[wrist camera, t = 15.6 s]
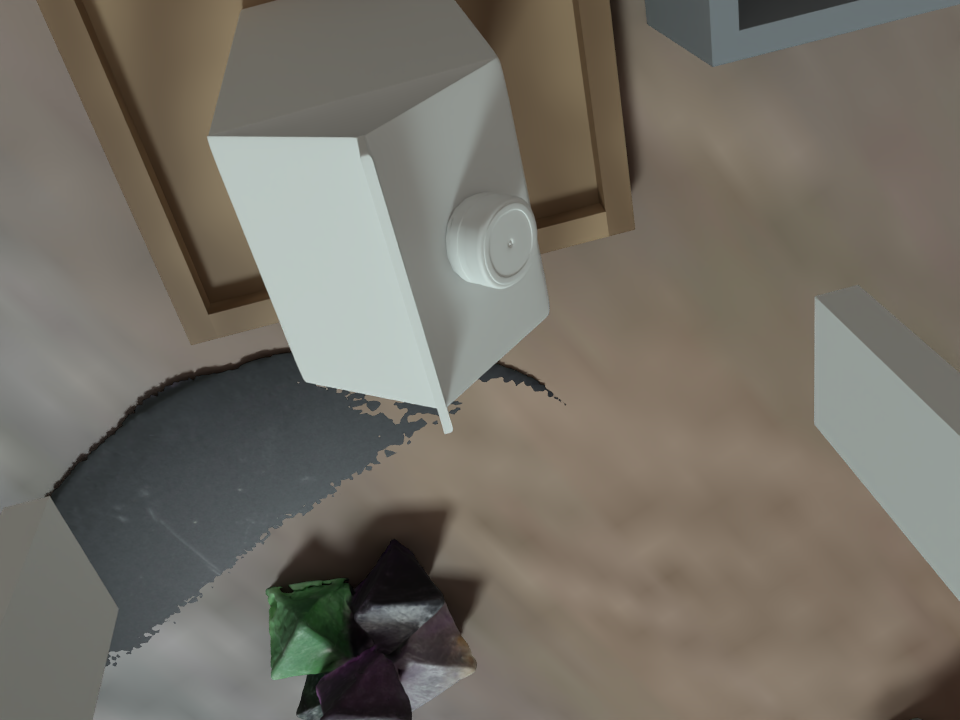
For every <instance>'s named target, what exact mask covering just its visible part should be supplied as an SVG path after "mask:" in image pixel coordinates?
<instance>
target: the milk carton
mask: <svg viewBox="0 0 960 720" xmlns="http://www.w3.org/2000/svg"><path fill="white" fill-rule="evenodd" d="M207 139H208V143H209V146H210V149H211V152H212V154H213V157H214V160H215V162H216V165H217V167H218V170H219V172H220V175H221V177H222V180H223V182H224V185H225V187H226V190H227V192H228V195H229V197H230V200H231V202H232V205H233V207H234V210H235V212H236V215H237V217H238V220H239V222H240V225H241V227H242V229H243V232H244V234H245V237H246V239H247V242H248V244H249V247H250V249H251V252H252V254H253V257H254V259H255V262H256V264H257V267H258V269H259V272H260V274H261V277H262V279H263V282H264V284H265V287H266V289H267V292H268V294H269V297H270V299H271V302H272V304H273V307H274V309H275V312H276V314H277V317H278V319H279V322H280V324H281V327H282V329H283V331H284V334H285V336H286V339H287V341H288V344H289V346H290V349H291V351H292V354H293V356H294V359H295V361H296V364H297V366H298V368H299V371H300V373H301V375H302V377H303V379H304V380H305V382H308V383H312V384H317V385H322V386H327V387H332V388H337V389H342V390H347V391H352V392H357V393H362V394H367V395H372V396H377V397H382V398H387V399H392V400H397V401H402V402H407V403H412V404H417V405H422V406H427V407H432V408H437V410H438V414H439V417H440V420H441V423H442V427H443V430H444V433H445V434H446V433H450V432H452V430H453V428H452V424H451V421H450V418H449V413H448V409H447V407H448V406H449V405H450V404H451V403H452V402H453V401H454V400H455V399H456V398H458V397H459V396H460V395H461V394H462V393H463V392H464V391H465V390H466V389H468V388H469V387H470V386H471V385H472V384H473V383H474V382H475V381H476V380H478V379H479V378H480V377H481V376H482V375H483V374H484V373H485V372H486V371H488V370H489V369H490V368H491V367H492V366H493V365H494V364H495V363H496V362H497V361H499V360H500V359H501V358H502V357H503V356H504V355H505V354H506V353H507V352H509V351H510V350H511V349H512V348H513V347H514V346H515V345H516V344H517V343H519V342H520V341H521V340H522V339H523V338H524V337H525V336H526V335H527V334H529V333H530V332H531V331H532V330H533V329H534V328H535V327H536V326H537V325H539V324H540V323H541V322H542V321H543V320H544V319H545V318H546V317H547V316H548V315H549V309H550V305H549V297H548V292H547V286H546V281H545V275H544V270H543V265H542V260H541V255H540V250H539V245H538V240H537V226H536V221H535V217H534V214H533V212H532V210H531V205H530V200H529V195H528V190H527V185H526V180H525V176H524V171H523V166H522V161H521V156H520V151H519V146H518V141H517V136H516V131H515V126H514V121H513V116H512V111H511V106H510V101H509V97H508V92H507V88H506V83H505V79H504V75H503V71H502V67H501V63H500V60H499V58H498V57H497V55H496V54H495V52H494V51H493V49H492V48H491V47H490V45H489V44H488V43H487V41H486V40H485V39H484V37H483V36H482V35H481V34H480V32H479V31H478V30H477V28H476V27H475V26H474V24H473V23H472V22H471V21H470V19H469V18H468V17H467V15H466V14H465V13H464V12H463V10H462V9H461V8H460V6H459V5H458V4H457V2H456V1H455V0H275V1H272V2H268V3H264V4H260V5H257V6H253V7H249V8H246V9H243V10H241V12H240V15H239V19H238V23H237V26H236V30H235V34H234V38H233V42H232V46H231V50H230V54H229V58H228V61H227V65H226V69H225V73H224V77H223V81H222V85H221V89H220V93H219V96H218V100H217V104H216V108H215V112H214V116H213V120H212V124H211V128H210V132H209V135H208V136H207Z"/></svg>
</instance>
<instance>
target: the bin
mask: <svg viewBox="0 0 960 720" xmlns="http://www.w3.org/2000/svg"><path fill="white" fill-rule="evenodd" d="M958 4H960V0H645V6H646V17H647V24H648V25H649V26H651V27H652V28H654V29H655V30H657V31H658V32H660V33H662V34H663V35H665V36H666V37H668V38H669V39H671V40H672V41H674V42H675V43H677V44H678V45H680V46H681V47H683V48H685V49H686V50H688V51H689V52H691V53H692V54H694V55H695V56H697V57H698V58H700V59H701V60H703V61H704V62H706V63H708V64H709V65H711V66H712V67H714V66H718V65H722V64H726V63H730V62H734V61H738V60H742V59H746V58H750V57H754V56H757V55H761V54H765V53H769V52H773V51H777V50H781V49H785V48H789V47H793V46H797V45H801V44H805V43H808V42H812V41H816V40H820V39H824V38H828V37H832V36H836V35H840V34H844V33H848V32H852V31H856V30H859V29H863V28H867V27H871V26H875V25H879V24H883V23H887V22H891V21H895V20H899V19H903V18H907V17H911V16H914V15H918V14H922V13H926V12H930V11H934V10H938V9H942V8H946V7H950V6H954V5H958Z"/></svg>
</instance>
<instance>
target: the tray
mask: <svg viewBox="0 0 960 720" xmlns="http://www.w3.org/2000/svg"><path fill="white" fill-rule="evenodd" d="M36 1H37V3H38V5H39V7H40V10H41V12H42V14H43V16H44V19H45V21H46V23H47V25H48V28H49V30H50V32H51V34H52V36H53V39H54V41H55V43H56V45H57V48H58V50H59V52H60V54H61V56H62V59H63V61H64V63H65V65H66V68H67V70H68V72H69V74H70V77H71V79H72V81H73V83H74V85H75V88H76V90H77V92H78V94H79V97H80V99H81V101H82V103H83V105H84V108H85V110H86V112H87V114H88V117H89V119H90V121H91V123H92V125H93V128H94V130H95V132H96V134H97V137H98V139H99V141H100V143H101V146H102V148H103V150H104V152H105V154H106V157H107V159H108V161H109V163H110V166H111V168H112V170H113V172H114V174H115V177H116V179H117V181H118V183H119V186H120V188H121V190H122V192H123V194H124V197H125V199H126V201H127V203H128V206H129V208H130V210H131V212H132V215H133V217H134V219H135V221H136V223H137V226H138V228H139V230H140V232H141V235H142V237H143V239H144V241H145V243H146V246H147V248H148V250H149V252H150V255H151V257H152V259H153V261H154V263H155V266H156V268H157V270H158V272H159V275H160V277H161V279H162V281H163V284H164V286H165V288H166V290H167V292H168V295H169V297H170V299H171V301H172V304H173V306H174V308H175V310H176V312H177V315H178V317H179V319H180V321H181V324H182V326H183V328H184V330H185V333H186V335H187V337H188V339H189V341H190V344H191V345H194V344H198V343H202V342H206V341H210V340H213V339H217V338H221V337H225V336H229V335H233V334H236V333H240V332H244V331H248V330H252V329H256V328H259V327H263V326H267V325H271V324H275V323H279V319H278V317H277V314H276V312H275V309H274V307H273V304H272V302H271V299H270V297H269V294H268V292H267V289H266V287H265V284H264V282H263V279H262V277H261V274H260V272H259V269H258V267H257V264H256V262H255V259H254V257H253V254H252V252H251V249H250V247H249V244H248V242H247V239H246V237H245V234H244V232H243V229H242V227H241V225H240V222H239V220H238V217H237V215H236V212H235V210H234V207H233V205H232V202H231V200H230V197H229V195H228V192H227V190H226V187H225V185H224V182H223V180H222V177H221V175H220V172H219V170H218V167H217V165H216V162H215V160H214V157H213V154H212V152H211V149H210V146H209V143H208V139H207V136H208V135H209V132H210V128H211V124H212V120H213V116H214V112H215V108H216V104H217V100H218V96H219V93H220V89H221V85H222V81H223V77H224V73H225V69H226V65H227V61H228V58H229V54H230V50H231V46H232V42H233V38H234V34H235V30H236V26H237V23H238V19H239V15H240V12H241V10H243V9H246V8H249V7H253V6H257V5H260V4H264V3H268V2H272V1H275V0H36ZM455 1H456V2H457V4H458V5H459V6H460V8H461V9H462V10H463V12H464V13H465V14H466V15H467V17H468V18H469V19H470V21H471V22H472V23H473V24H474V26H475V27H476V28H477V30H478V31H479V32H480V34H481V35H482V36H483V37H484V39H485V40H486V41H487V43H488V44H489V45H490V47H491V48H492V49H493V51H494V52H495V54H496V55H497V57H498V58H499V60H500V63H501V67H502V71H503V75H504V79H505V83H506V88H507V92H508V97H509V101H510V106H511V111H512V116H513V121H514V126H515V131H516V136H517V141H518V146H519V151H520V156H521V161H522V166H523V171H524V176H525V180H526V185H527V190H528V195H529V200H530V205H531V210H532V212H533V214H534V217H535V221H536V226H537V240H538V245H539V250H540V254H543V253H547V252H551V251H555V250H558V249H562V248H566V247H570V246H574V245H578V244H581V243H585V242H589V241H593V240H597V239H601V238H604V237H608V236H612V235H616V234H620V233H624V232H627V231H631V230H635V223H634V214H633V205H632V196H631V187H630V178H629V170H628V161H627V152H626V143H625V134H624V125H623V116H622V107H621V98H620V89H619V80H618V72H617V63H616V54H615V45H614V36H613V27H612V18H611V9H610V0H455Z"/></svg>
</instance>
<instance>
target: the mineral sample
mask: <svg viewBox="0 0 960 720" xmlns="http://www.w3.org/2000/svg"><path fill="white" fill-rule="evenodd" d="M526 376H527V375H523V374H521V373H519V372H518V371H517V370H515V371H514V369H511V368H505V367H504V366H501V365H500V364H499V365H498V364H496V363H495V364H494V365H493V366H492V367H491V368H490V369H489V370H488V371H486V372H485V373H484V374H483V375H482V376H481V377H480V378H479V379H480V380H481V381H482V382H487V381H489V380H490V379H491V378H499V377H503V378H504V382H506V383H507V382H509V381H511V380H513V381H514V382H515V384H516V386H517V385H518V384H519V383H521V382H523V381H524V382H525V385H526V386H530V385H531V387H532V388H533V390H534V391H544V390H547V389H546V388H545V385H540V384H539V382H538V381H536V380H535V379H533V378H532V377H526ZM188 379H189V380H186V381H179V382H178V383H177V382H173V385H171V386H165V388H164V391H163V392H158V397H157V396H153V395H150V397H151V398H147V399H146V400H143V405H138V406H136V410H134V411H135V412H136V413H135V414H131V415H129V414H128V417H127V418H126V419H125V421H124V422H123V423H122V424H123V426H122V427H120V428H119V429H118V430H117V431H116V434H115V435H111V436H110V437H109V438H107V439H106V440H105V442H104V443H103V444H100V446H98V448H97V450H95V451H91V452H92V453H91V454H89V455H88V460H86V461H82V462H79V463H78V464H77V465H76V467H75V470H72V471H71V474H70V475H69V476H68V477H67V478H66V479H65V480H64V481H63V482H62V484H61V485H60V487H59V488H57V489H56V490H54V492H53V493H52V498H51V499H52V501H53V502H54V504H55V506H56V507H57V509H58V511H59V512H60V514H61V516H62V517H63V519H64V520H65V522H66V524H67V525H68V527H69V529H70V530H71V532H72V533H73V535H74V537H75V538H76V540H77V542H78V543H79V545H80V546H81V548H82V550H83V551H84V553H85V555H86V556H87V558H88V560H89V561H90V563H91V564H92V566H93V568H94V569H95V571H96V573H97V574H98V576H99V577H100V579H101V581H102V582H103V584H104V586H105V587H106V589H107V591H108V592H109V594H110V595H111V597H112V599H113V600H114V602H115V604H116V605H117V607H118V608H119V610H118V614H117V618H116V623H115V627H114V631H113V635H112V639H111V644H110V648H109V652H110V651H115V652H117V651H121V650H124V651H130V652H127V653H126V654H131V651H132V650H133V647H135V648H140V647H142V646H141V645H140V644H141V643H147V642H148V640H149V639H150V638H151V637H152V636H148V637H145V636H144V633H150V634H152V635H155V633H159V631H160V630H158V631H154V630H152V627H154V626H156V624H161V625H162V624H163V623H164V622H166V621H164V620H165V619H166V618H169V617H170V615H173V614H174V612H175V613H180V609H179V607H177V606H178V605H179V606H183V607H184V606H185V605H186V604H187V602H185V601H184V600H186V601H187V600H188V598H191V597H192V596H195V597H194V598H192V599H191V600H190V601H189V602H188V603H193V602H196V601H198V600H197V598H196V597H197V596H199V595H202V593H199V590H200V589H201V588H202V587H203V586H204V585H206V584H207V583H209V582H214V578H215V577H216V576H220V575H221V574H222V572H223V571H224V570H226V569H228V568H230V569H231V568H232V567H233V565H235V564H236V563H235V562H236V561H237V560H238V559H236V556H241V555H242V554H247V552H246V551H245V550H247V551H253V550H252V547H256V544H255V543H258V542H261V543H262V544H264V543H265V542H263V541H264V540H265V539H267V538H268V536H270V532H269V531H268V528H270V527H273V528H274V529H277V528H279V527H278V526H282V525H283V523H282V520H284V519H285V518H293V517H294V516H295V515H296V514H297V513H302V515H303V516H304V515H305V514H306V513H307V512H309V511H311V510H312V509H313V506H312V505H313V504H314V503H315V502H316V503H317V504H320V503H321V501H320V500H319V499H322V498H326V497H327V495H328V494H334V493H335V492H337V490H336V489H335V488H334V487H336V486H340V485H341V480H345V479H348V478H349V479H350V480H353V477H352V476H351V475H352V474H353V473H355V472H356V471H357V473H358V475H359V474H361V473H362V471H363V470H364V468H365V467H366V470H371V469H372V466H367V465H368V464H369V463H373V464H380V462H378V461H377V459H376V456H377V455H378V454H377V452H378V451H380V450H383V449H385V448H386V447H388V446H389V445H401V444H403V441H404V435H403V433H405V436H407V437H408V438H410V437H411V436H412V435H413V432H414V431H416V430H420V428H422V427H424V426H425V425H426V424H427V423H426V422H425V421H424V420H423V419H422V418H421V419H420V420H418V421H416V422H410V423H408V421H407V417H408V416H409V415H415V414H416V413H422V414H425V413H430V414H433V415H438V416H439V414H438V410H437V408H432V407H427V406H422V405H417V404H414V405H413V404H410V403H407V402H404V403H397V402H395V404H394V405H397V407H398V408H399V409H403V408H408V412H407V413H405V414H404V416H403V417H402V419H401V422H400V424H396V425H395V424H394V423H393V420H392V419H388V418H387V417H386V416H385V415H384V413H379V414H377V415H375V416H371V415H369V414H368V413H365V414H360V413H361V412H362V410H353V408H352V407H356V406H360V405H363V404H365V403H367V407H368V408H369V409H370V410H371V411H374V410H376V409H377V408H378V407H379V406H380V402H378V401H369V402H368V401H367V400H365V399H364V396H365V394H362V393H354V394H350V392H349V391H347V390H343V391H342V393H336V390H337V389H336V388H332V387H327V386H326V387H327V388H328V390H326V388H323V387H319V386H316V384H312V383H308V382H305V380H304V379H303V377H302V375H301V373H300V371H299V368H298V366H297V364H296V361H295V359H294V356H293V354H292V352H291V353H285V354H278V355H273V356H272V357H270V358H269V357H266V358H261V359H258V360H255V361H252V362H248V363H245V364H243V365H241V366H240V367H239V369H236V370H233V371H232V370H228V371H225V372H222V373H218V374H215V373H213V374H211V375H201V376H199V377H198V376H196V378H195V380H194V381H193V380H192V379H190V378H188ZM297 382H300V383H299V384H298V383H297ZM547 391H548V396H549V397H552V396H553V393H552V392H550V391H549V390H547ZM348 394H350V396H348V397H347V398H348V400H347V398H346V397H345V396H346V395H348ZM354 398H357V399H359V398H362V400H357V401H353V399H354ZM554 398H555V399H558V398H556V397H554ZM559 401H560V402H561V400H560V399H559ZM451 404H454V405H459V404H462V403H459V402H458V401H455V402H452V403H451ZM565 405H566V404H565ZM348 406H350V408H349V407H348ZM458 410H460V408H456V409H454V410H451V411H450V412H449V413H451V414H455V413H456V412H457V411H458ZM433 424H438V423H437V421H435V422H433ZM379 435H380V437H378V436H379ZM410 443H411V441H410V440H409V441H408V442H407V444H410ZM385 454H386V456H387V457H389V456H391V455H393V454H395V452H393V451H388V450H385ZM331 482H333V483H334V487H333V486H331V485H330V483H331ZM332 497H334V496H332ZM305 504H306V505H305ZM304 505H305V506H304ZM303 506H304V507H303ZM285 514H292V517H291V516H288V515H285ZM277 517H278V518H277ZM274 525H275V526H274ZM277 525H278V526H277ZM266 532H267V534H268V535H267V536H266V537H265V538H264V539H262V540H260V536H261V535H262V534H263V533H266ZM244 549H245V550H244ZM241 558H243V557H241ZM228 573H230V572H228ZM344 581H349V578H338V579H332V580H326V581H322V580H317V581H309V582H303V583H297V584H291V585H289V587H290V588H291V589H292V590H294V592H292V593H282V592H281V590H280V588H282V587H275V586H272V587H270V588H268V589H266V595H267V596H268V602H269V604H270V606H271V608H270V609H269V633H270V636H271V644H270V645H271V668H272V671H271V678H272V679H273V680H276V679H283V678H287V677H292V676H299V675H306V674H307V678H306V682H305V686H304V689H303V692H302V696H301V701H300V704H299V707H298V709H297V712H296V715H297V717H299V718H301V719H305V720H412V712H413V711H414V710H415V709H417V708H418V707H420V706H422V705H423V704H425V703H426V702H428V701H430V700H431V699H433V698H434V697H436V696H437V695H439V694H440V693H441V692H443V691H444V690H446V689H447V688H449V687H450V686H452V685H453V684H455V683H457V682H458V681H459V680H460V679H463V678H465V677H467V676H469V675H471V674H473V673H474V672H475V670H476V667H477V662H476V660H475V658H474V657H473V656H472V654H471V650H470V648H469V646H468V644H467V643H466V641H465V640H464V639H463V638H462V636H461V634H460V632H459V630H458V628H457V627H456V624H455V622H454V620H453V618H452V616H451V614H450V612H449V610H448V607H447V605H446V603H445V600H444V597H443V594H442V592H441V591H440V590H439V589H438V588H437V587H436V585H434V583H433V582H432V581H431V580H430V577H429V576H428V575H427V574H426V572H425V571H424V569H423V567H421V566H420V565H419V563H418V561H417V560H416V558H415V556H414V554H413V553H412V552H411V551H410V550H409V549H407V548H406V547H404V546H403V545H401V544H400V543H399V542H398V541H397V540H395V539H392V540H391V542H390V545H389V546H388V547H387V549H386V550H385V552H384V553H383V554H382V556H381V557H380V559H379V560H378V562H377V564H376V566H375V567H374V568H373V569H372V571H371V572H370V573H369V574H368V576H367V578H366V579H364V581H362V582H361V583H360V584H359V585H358V586H357V587H356V588H355V589H353V588H352V587H351V585H350V584H348V583H344ZM322 583H324V584H331V583H332V584H331V585H323V586H320V585H322ZM313 585H314V586H313ZM309 586H313V587H310V588H308V587H309ZM305 587H306V588H305ZM212 588H213V587H212ZM202 596H203V595H202ZM202 596H200V598H202ZM174 623H175V622H174ZM139 637H140V638H139ZM109 652H108V653H109ZM109 657H111V656H110V655H109V654H108V656H107V661H106V665H105V667H106V666H108V665H109V664H110V660H109V659H108V658H109ZM117 657H118V658H119V657H120V656H119V655H117ZM112 660H116V657H113V656H112ZM116 665H117V663H116V662H115V663H114V664H113V666H116Z"/></svg>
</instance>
